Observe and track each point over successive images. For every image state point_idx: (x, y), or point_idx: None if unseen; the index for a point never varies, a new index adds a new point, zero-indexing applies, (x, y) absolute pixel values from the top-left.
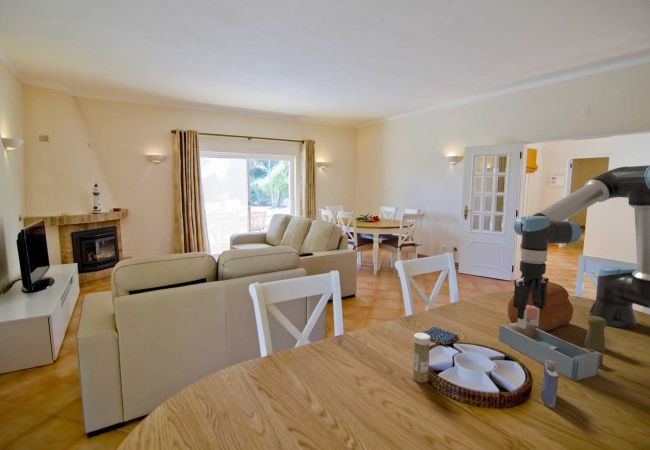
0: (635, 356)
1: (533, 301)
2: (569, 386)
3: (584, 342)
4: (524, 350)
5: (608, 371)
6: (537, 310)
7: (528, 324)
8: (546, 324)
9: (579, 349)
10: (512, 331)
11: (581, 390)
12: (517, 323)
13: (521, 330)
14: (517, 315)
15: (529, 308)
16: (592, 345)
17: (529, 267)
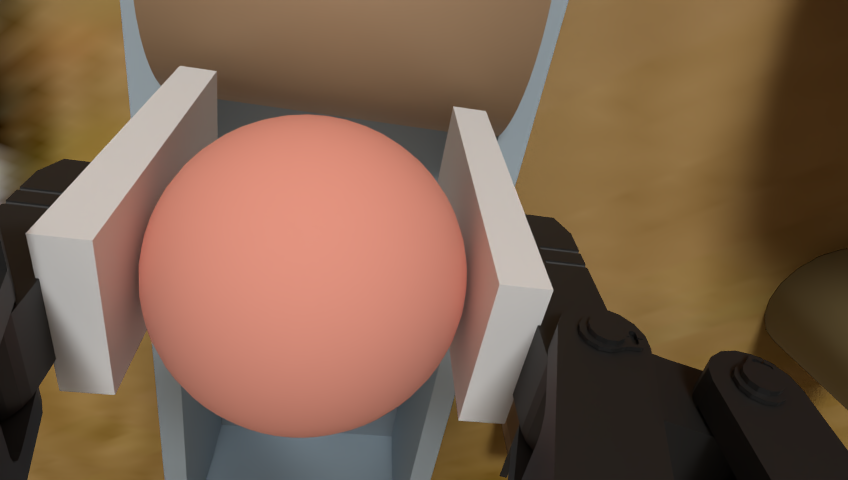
0: (842, 438)
1: (547, 422)
2: (123, 442)
3: (831, 274)
4: None
5: (500, 449)
6: (457, 380)
7: (455, 82)
8: None
9: (407, 477)
10: (123, 17)
11: (153, 473)
12: (167, 79)
13: (240, 93)
14: (23, 185)
15: (209, 409)
16: (787, 333)
17: None
